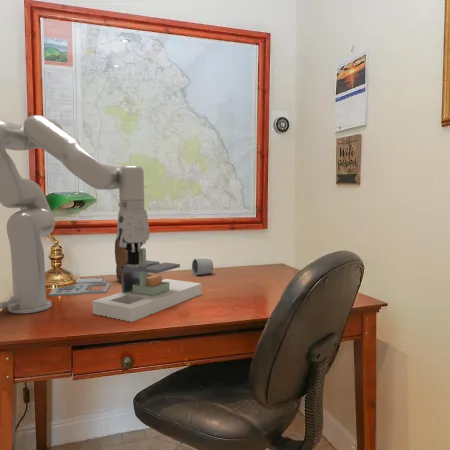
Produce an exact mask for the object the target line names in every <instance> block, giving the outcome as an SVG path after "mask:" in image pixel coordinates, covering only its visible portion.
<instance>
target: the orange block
mask: <svg viewBox="0 0 450 450" xmlns="http://www.w3.org/2000/svg"><path fill="white" fill-rule="evenodd" d="M162 277H163V276H162V275H155V274H148V275H147V276H146V283H147V286H149V287H154V286H157V285H160V284H162V280H163V278H162Z"/></svg>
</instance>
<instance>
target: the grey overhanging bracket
mask: <svg viewBox="0 0 450 450" xmlns="http://www.w3.org/2000/svg"><path fill="white" fill-rule="evenodd" d="M177 268H181V264H179V263H172V262H161V263H160V261H157V260H155V261H153V260H147V259H146V267H145V268H140V267H139V264H136V265H131V264H127V265H123V266H121V278H122V282H121V292H122V293H126V292H129V291H133V284H137V283H140V271H142V272H146V276H147V275H149V273H150V274H151V273H152V274H160V273H163V272H167V271H171V270H174V269H177Z"/></svg>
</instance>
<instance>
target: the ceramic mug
mask: <svg viewBox="0 0 450 450" xmlns="http://www.w3.org/2000/svg"><path fill="white" fill-rule="evenodd" d="M191 270H192V274H193V275H194V276H196V277H197V276H203V275H204V276H205V275H210V274H212V272H213V271H214V264H213V261H212V260H211V259H210V258H194V259H193V260H192V263H191Z"/></svg>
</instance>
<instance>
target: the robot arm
mask: <svg viewBox="0 0 450 450" xmlns="http://www.w3.org/2000/svg"><path fill="white" fill-rule="evenodd" d="M36 149H42V150H44V151H45V152H47V153H48V154H49V155H51V156H52V157H54V159H56V160H57V161H59V162H60V163H62V165H63V166H64V167H65V168H66V169H67V170H68V171H69V172H71V174H73V175H74V176H75V177H77V178H78V179H80V180H81V181H82V182H84V183H85V184H86V185H88V186H89V187H91V188H94V189H96V190H100V191H102V190H107V191H110V190H117V189H118V193H119V194H118V196H119V199H118V200H119V203H118V204H117V205H118V208H119V210H118V213H117V225H116V226H117V227H116V238H117V239H118V241H119V242H120V243H119V247H123V248H125V249H126V251H127V252H128V264H131V265H136V264H139V252H138V251H140V248H142V246H143V245H145V244H147V241H148V240H149V239H150V228H149V227H150V225H149V219H148V213H147V210H146V209H145V184H144V183H145V180H144V179H145V178H144V177H145V176H144V168H143V167H142V166H140V165H122V166H115V165H114V166H113V165H108V164H105V163H104V164H103V163H101V161H98V160H97V159H95V158H94V157H93V156H91V154H89V153H87V152H86V151H85V150H84V149H83V148H82V147H81V143H80V141H79V140H78V139H77V138H76V137H74V136H73V135H71V134H70V133H68V132H67V131H65V130H64V129H63V127H62V125H61V124H60V123H59V122H57V120H54V119H52V118H49V117H46V116H44V115H40V114H34V115H33V114H32V115H30V116H29V117H27V118H26V119H25V120H24V122H23V124H17V123H13V122H10V121H7V120H3V119H0V204H1V206H3V207H5V208H7V209H20V210H18V211H15V212H14V213H12V214H11V215H10V216H9V218H8V220H7V222H6V234H7V237H8V238H7V239H8V242H9V247H10V248H9V249H10V261H11V262H10V263H11V276H12V277H11V278H12V296H9V299H8V300H6V301H1V302H0V310H2V309H6V308H7V309H8V312H10V313H12V314H19V315H20V314H33V313H34V314H35V313H38V312H42V311H45V310H46V311H47V310H48V309H50V308H51V307H52V306H53V305H52V302H51V300H49V299H48V300H47V285H46V264H45V262H46V261H45V250H44V246H43V243H42V240H41V239H42V238H44V237H46V236H48V235H50V234H51V233H52V232H54V229H55V226H56V222H55V221H56V220H55V219H56V218H55V216H54V213H53V211H52V209H51V207H50V205H49V202H48V201H47V198H46V195H45V194H44V191H43V188H41V186H40V185H39V184H38V183H37V182H35V181H34V180H32V179H28V178H23V177H22V176H21V175H20V173H19V170H18V169H17V166H16V163H15V162H14V160H13V159H12V157H11V156H10V155H9V154H8V153H7V151H6V150H9V151H10V150H12V151H17V152H18V151H27V150H36Z"/></svg>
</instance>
